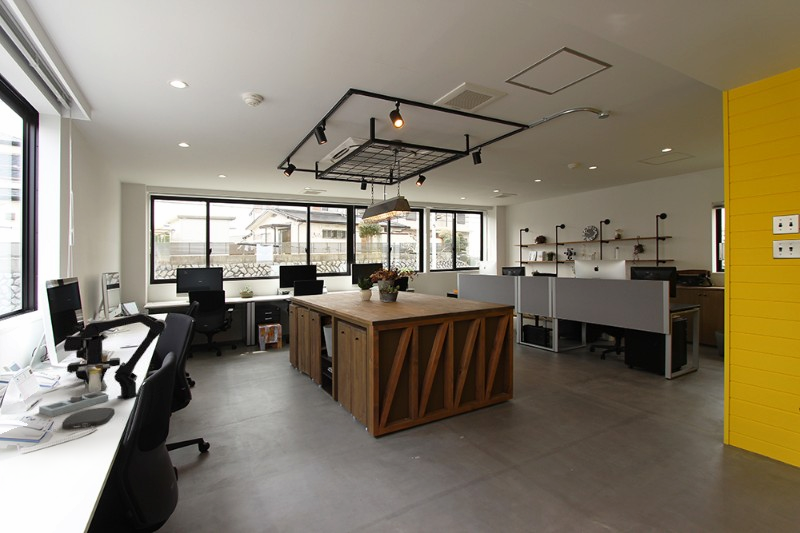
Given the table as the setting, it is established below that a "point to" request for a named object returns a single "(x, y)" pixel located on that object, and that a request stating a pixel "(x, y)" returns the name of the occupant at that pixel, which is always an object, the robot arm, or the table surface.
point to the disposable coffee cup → (105, 355)
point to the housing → (70, 405)
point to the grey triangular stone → (103, 384)
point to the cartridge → (94, 380)
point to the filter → (82, 351)
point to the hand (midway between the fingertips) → (94, 383)
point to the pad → (94, 394)
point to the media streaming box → (88, 418)
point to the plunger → (76, 398)
